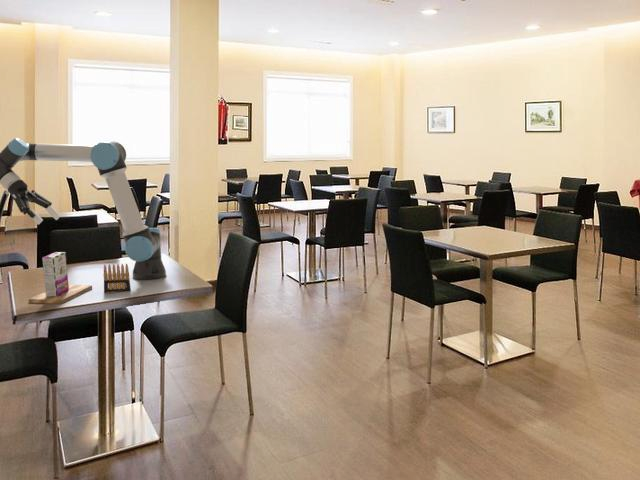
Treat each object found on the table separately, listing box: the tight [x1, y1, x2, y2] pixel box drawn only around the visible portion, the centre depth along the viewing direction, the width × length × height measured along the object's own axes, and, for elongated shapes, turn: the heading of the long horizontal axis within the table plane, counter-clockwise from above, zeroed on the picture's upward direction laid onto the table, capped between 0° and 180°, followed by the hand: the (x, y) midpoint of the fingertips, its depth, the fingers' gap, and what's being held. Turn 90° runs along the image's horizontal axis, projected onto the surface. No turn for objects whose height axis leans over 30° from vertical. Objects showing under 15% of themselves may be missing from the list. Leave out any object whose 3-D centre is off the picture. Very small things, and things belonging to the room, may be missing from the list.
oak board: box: [28, 284, 93, 305], centre depth 252 cm, size 14×24×2 cm, turn 173°
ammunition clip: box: [103, 263, 132, 293], centre depth 257 cm, size 11×2×12 cm, turn 100°
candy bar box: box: [41, 251, 70, 297], centre depth 248 cm, size 11×5×16 cm, turn 178°
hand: (49, 220), depth 261 cm, fingers open, 13 cm apart
